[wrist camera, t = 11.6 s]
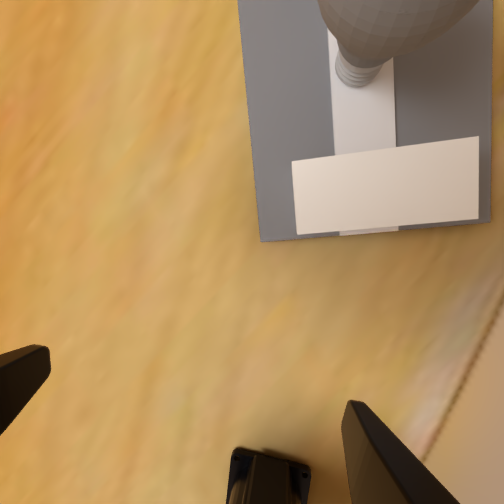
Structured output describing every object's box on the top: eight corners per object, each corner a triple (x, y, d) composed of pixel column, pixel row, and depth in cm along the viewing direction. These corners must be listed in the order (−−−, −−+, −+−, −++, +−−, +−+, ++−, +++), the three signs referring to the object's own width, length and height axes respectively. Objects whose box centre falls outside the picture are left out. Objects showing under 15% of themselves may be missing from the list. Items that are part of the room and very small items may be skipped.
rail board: (476, 222, 17) (535, 224, 13) (262, 240, 19) (254, 247, 15) (478, -139, 14) (552, -281, 10) (233, -68, 17) (213, -161, 13)
